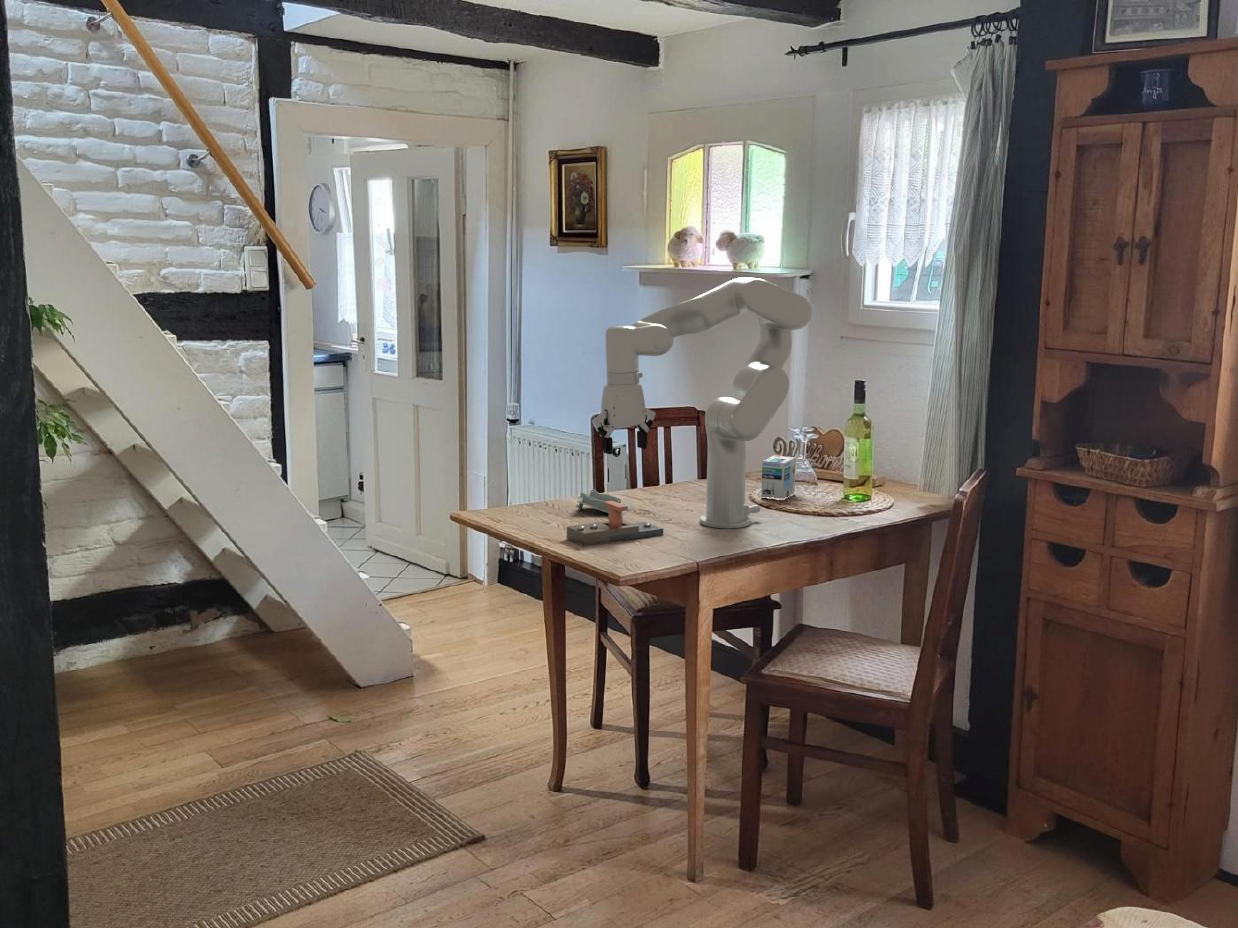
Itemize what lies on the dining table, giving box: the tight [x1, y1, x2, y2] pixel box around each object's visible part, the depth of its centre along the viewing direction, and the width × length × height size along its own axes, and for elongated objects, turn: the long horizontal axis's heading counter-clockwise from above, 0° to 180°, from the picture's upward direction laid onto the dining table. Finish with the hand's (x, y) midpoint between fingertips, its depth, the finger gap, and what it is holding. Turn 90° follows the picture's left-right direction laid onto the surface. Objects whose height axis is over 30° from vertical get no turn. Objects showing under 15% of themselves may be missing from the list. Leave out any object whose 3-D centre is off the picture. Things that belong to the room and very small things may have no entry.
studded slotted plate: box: [566, 519, 664, 547], centre depth 269 cm, size 22×8×4 cm, turn 122°
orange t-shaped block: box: [604, 501, 628, 528], centre depth 269 cm, size 3×7×8 cm, turn 32°
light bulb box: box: [760, 454, 797, 498], centre depth 315 cm, size 11×7×11 cm, turn 154°
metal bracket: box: [575, 488, 634, 518], centre depth 296 cm, size 14×6×15 cm
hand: (625, 450), depth 269 cm, fingers open, 9 cm apart
